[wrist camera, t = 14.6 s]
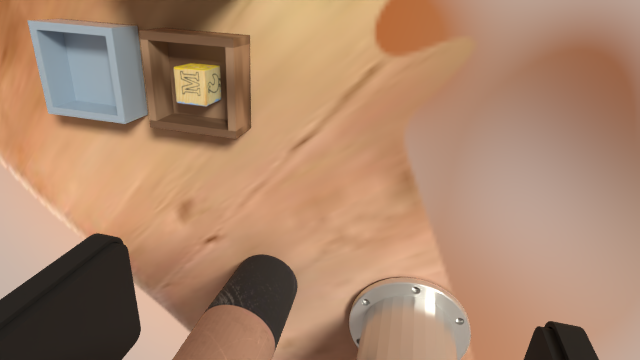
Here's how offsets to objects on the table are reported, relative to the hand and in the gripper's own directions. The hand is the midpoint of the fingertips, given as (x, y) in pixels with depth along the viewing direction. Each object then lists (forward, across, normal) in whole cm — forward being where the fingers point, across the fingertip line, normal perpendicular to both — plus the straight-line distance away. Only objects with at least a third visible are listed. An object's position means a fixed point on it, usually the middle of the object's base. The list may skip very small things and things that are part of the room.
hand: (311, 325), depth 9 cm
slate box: (+28, +28, +1) cm, 40 cm away
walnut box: (+28, +17, +1) cm, 33 cm away
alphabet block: (+28, +17, +1) cm, 33 cm away
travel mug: (+28, +11, +23) cm, 38 cm away
